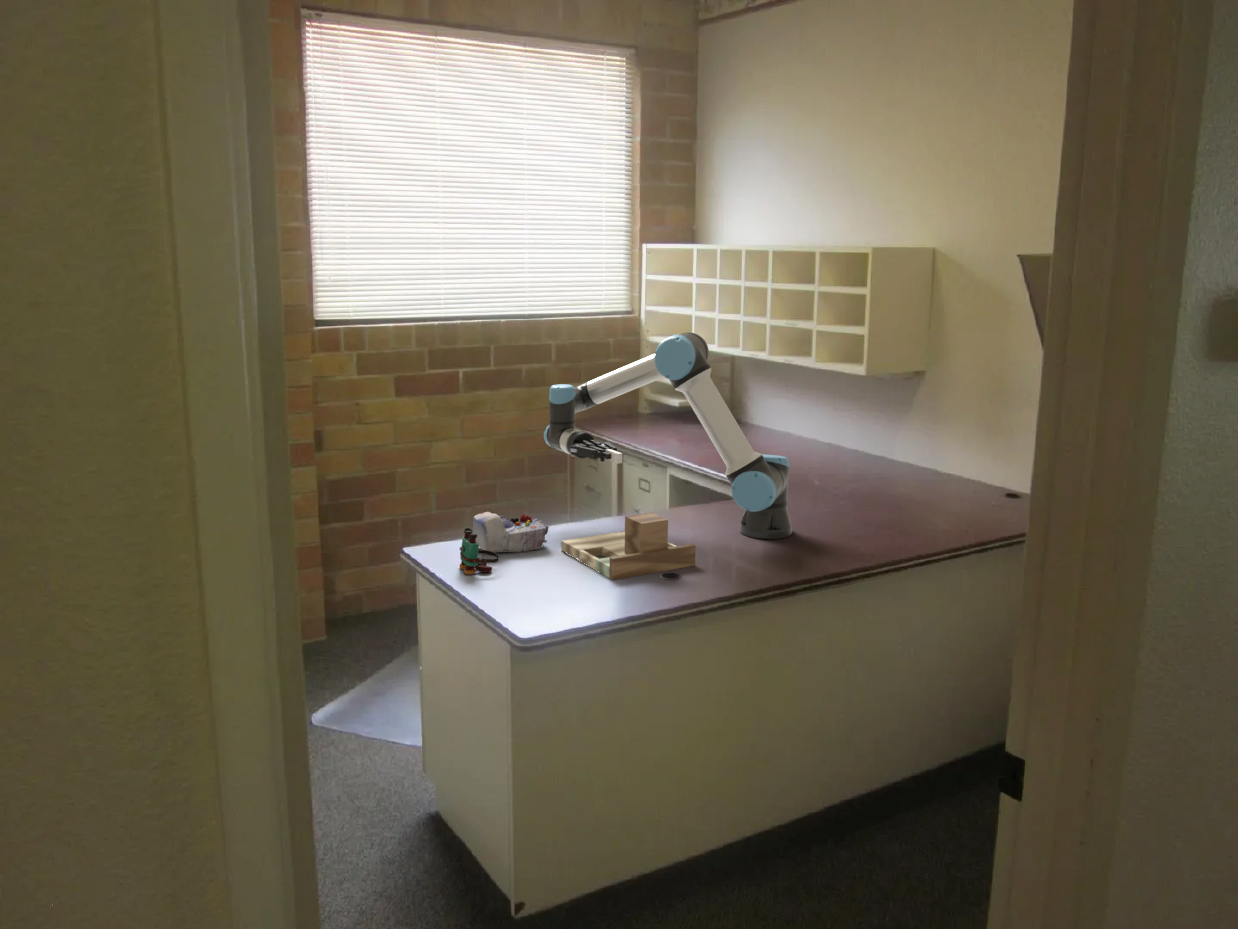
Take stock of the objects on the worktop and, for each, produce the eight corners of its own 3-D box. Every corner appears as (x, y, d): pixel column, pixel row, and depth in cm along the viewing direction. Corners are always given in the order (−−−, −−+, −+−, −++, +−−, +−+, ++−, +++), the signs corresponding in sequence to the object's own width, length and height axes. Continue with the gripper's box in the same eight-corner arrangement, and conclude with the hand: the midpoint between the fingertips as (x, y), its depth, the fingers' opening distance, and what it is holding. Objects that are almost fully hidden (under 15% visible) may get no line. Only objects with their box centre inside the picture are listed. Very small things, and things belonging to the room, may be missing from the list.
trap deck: (561, 551, 273) (561, 531, 271) (639, 538, 285) (639, 520, 284) (612, 580, 250) (612, 559, 248) (695, 565, 262) (695, 545, 261)
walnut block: (624, 553, 261) (625, 516, 259) (650, 549, 266) (651, 512, 263) (641, 561, 255) (641, 523, 253) (667, 557, 259) (668, 519, 257)
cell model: (467, 509, 273) (533, 501, 284) (467, 547, 275) (532, 538, 286) (488, 520, 262) (555, 512, 273) (487, 559, 264) (554, 550, 275)
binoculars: (504, 535, 252) (466, 535, 248) (500, 575, 254) (462, 576, 250) (494, 526, 260) (456, 526, 256) (490, 565, 262) (453, 566, 258)
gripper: (597, 454, 292) (640, 469, 272) (557, 458, 286) (598, 474, 266) (597, 428, 291) (640, 442, 271) (557, 432, 284) (598, 446, 264)
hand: (619, 458), depth 268 cm, fingers closed
